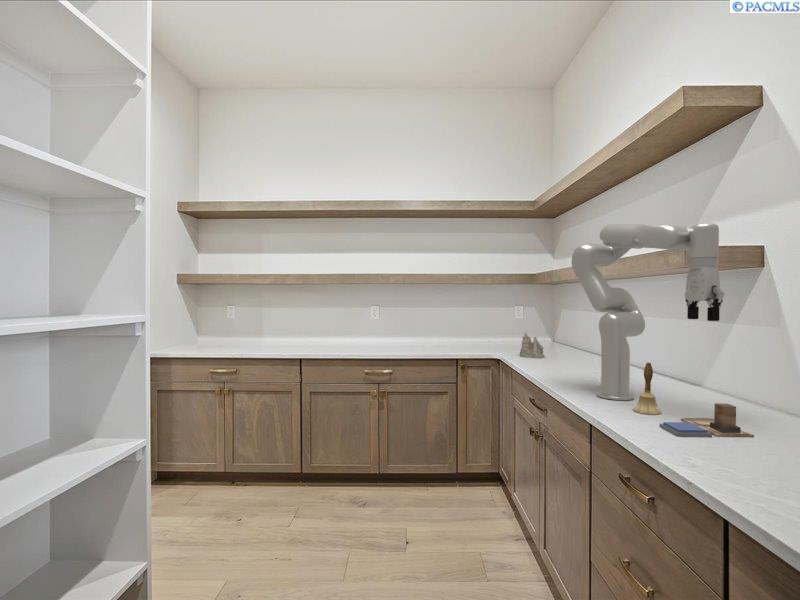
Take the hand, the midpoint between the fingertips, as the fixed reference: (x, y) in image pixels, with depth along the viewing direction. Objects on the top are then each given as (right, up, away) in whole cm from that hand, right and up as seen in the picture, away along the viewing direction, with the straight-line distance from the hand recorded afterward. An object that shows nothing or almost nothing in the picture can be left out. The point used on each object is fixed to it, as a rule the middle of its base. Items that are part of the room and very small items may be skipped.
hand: (702, 319), depth 141 cm
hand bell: (-13, -30, +8) cm, 34 cm away
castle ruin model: (-12, -29, +140) cm, 143 cm away
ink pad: (-14, -30, -14) cm, 37 cm away
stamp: (-3, -30, -15) cm, 33 cm away
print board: (-3, -30, -11) cm, 32 cm away
